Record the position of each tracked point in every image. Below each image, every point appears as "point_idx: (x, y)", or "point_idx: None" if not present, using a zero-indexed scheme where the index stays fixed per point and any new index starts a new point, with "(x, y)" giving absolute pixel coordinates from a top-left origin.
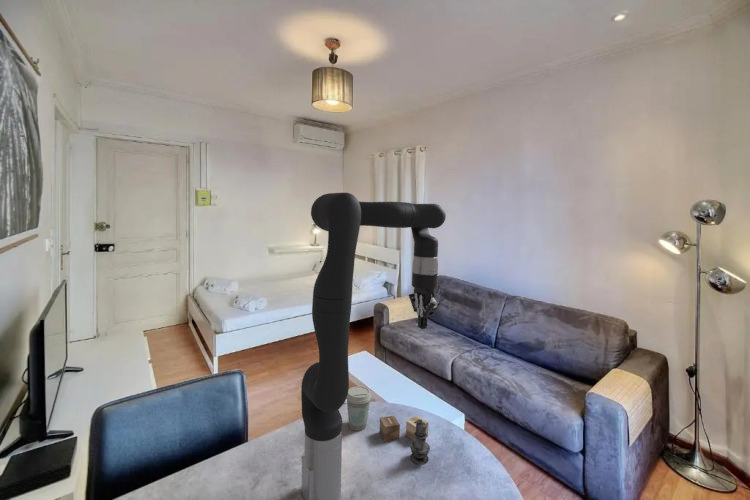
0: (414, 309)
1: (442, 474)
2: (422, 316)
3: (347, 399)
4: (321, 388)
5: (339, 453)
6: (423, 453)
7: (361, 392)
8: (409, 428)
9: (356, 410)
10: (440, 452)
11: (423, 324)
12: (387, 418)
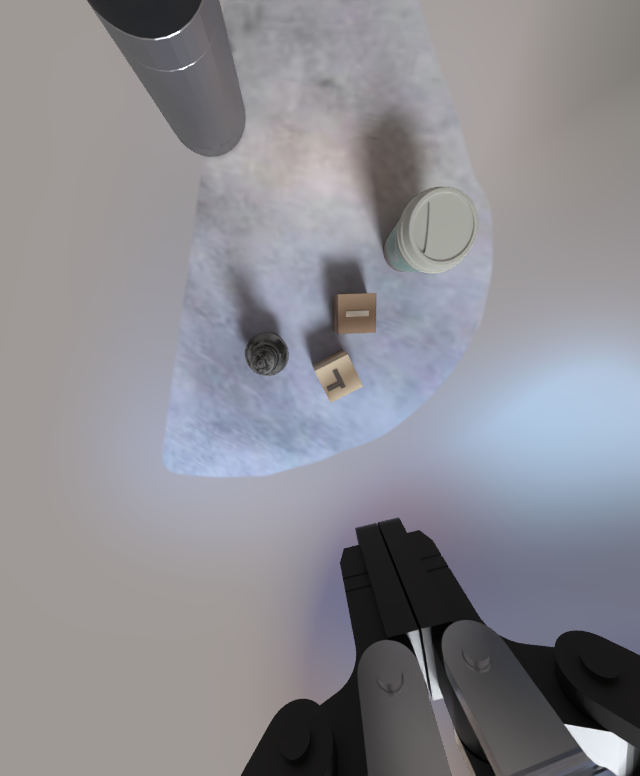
0: (608, 673)
1: (219, 376)
2: (358, 666)
3: (429, 189)
4: None
5: (138, 72)
6: (245, 353)
7: (438, 236)
8: (336, 356)
9: (398, 223)
10: (276, 398)
11: (344, 579)
12: (367, 310)
